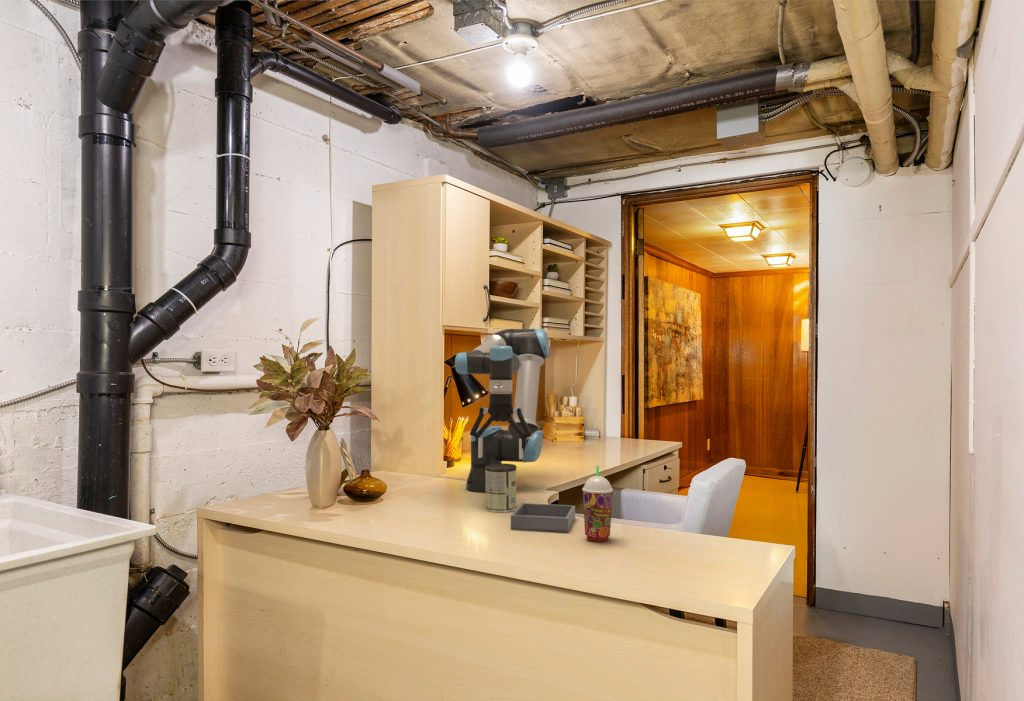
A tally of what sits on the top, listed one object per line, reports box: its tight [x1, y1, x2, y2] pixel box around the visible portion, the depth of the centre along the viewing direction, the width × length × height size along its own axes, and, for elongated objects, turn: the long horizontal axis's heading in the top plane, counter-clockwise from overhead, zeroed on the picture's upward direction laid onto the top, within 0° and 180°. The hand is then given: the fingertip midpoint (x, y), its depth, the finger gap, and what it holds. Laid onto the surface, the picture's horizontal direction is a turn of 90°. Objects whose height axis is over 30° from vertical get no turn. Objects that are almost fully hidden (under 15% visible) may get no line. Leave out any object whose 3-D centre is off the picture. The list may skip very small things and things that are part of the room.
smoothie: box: [581, 465, 614, 543], centre depth 179 cm, size 8×8×20 cm
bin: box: [510, 502, 576, 534], centre depth 195 cm, size 17×17×4 cm
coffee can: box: [485, 462, 518, 513], centre depth 214 cm, size 10×10×14 cm
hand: (500, 458), depth 214 cm, fingers open, 13 cm apart
